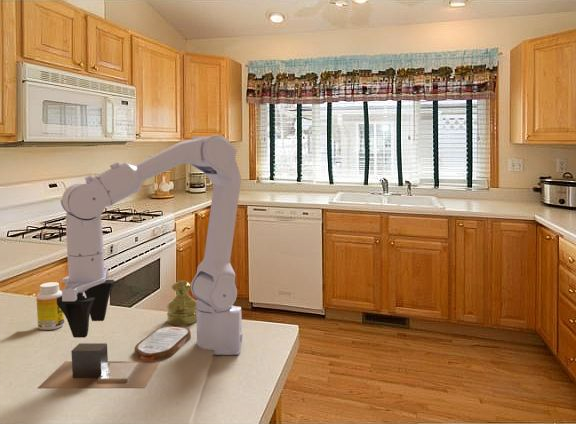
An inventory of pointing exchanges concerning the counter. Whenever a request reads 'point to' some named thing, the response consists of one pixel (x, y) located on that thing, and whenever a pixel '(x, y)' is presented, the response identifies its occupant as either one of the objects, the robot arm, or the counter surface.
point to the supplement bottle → (49, 307)
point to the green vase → (181, 305)
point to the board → (66, 380)
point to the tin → (162, 343)
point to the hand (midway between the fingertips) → (89, 328)
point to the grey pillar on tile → (99, 364)
